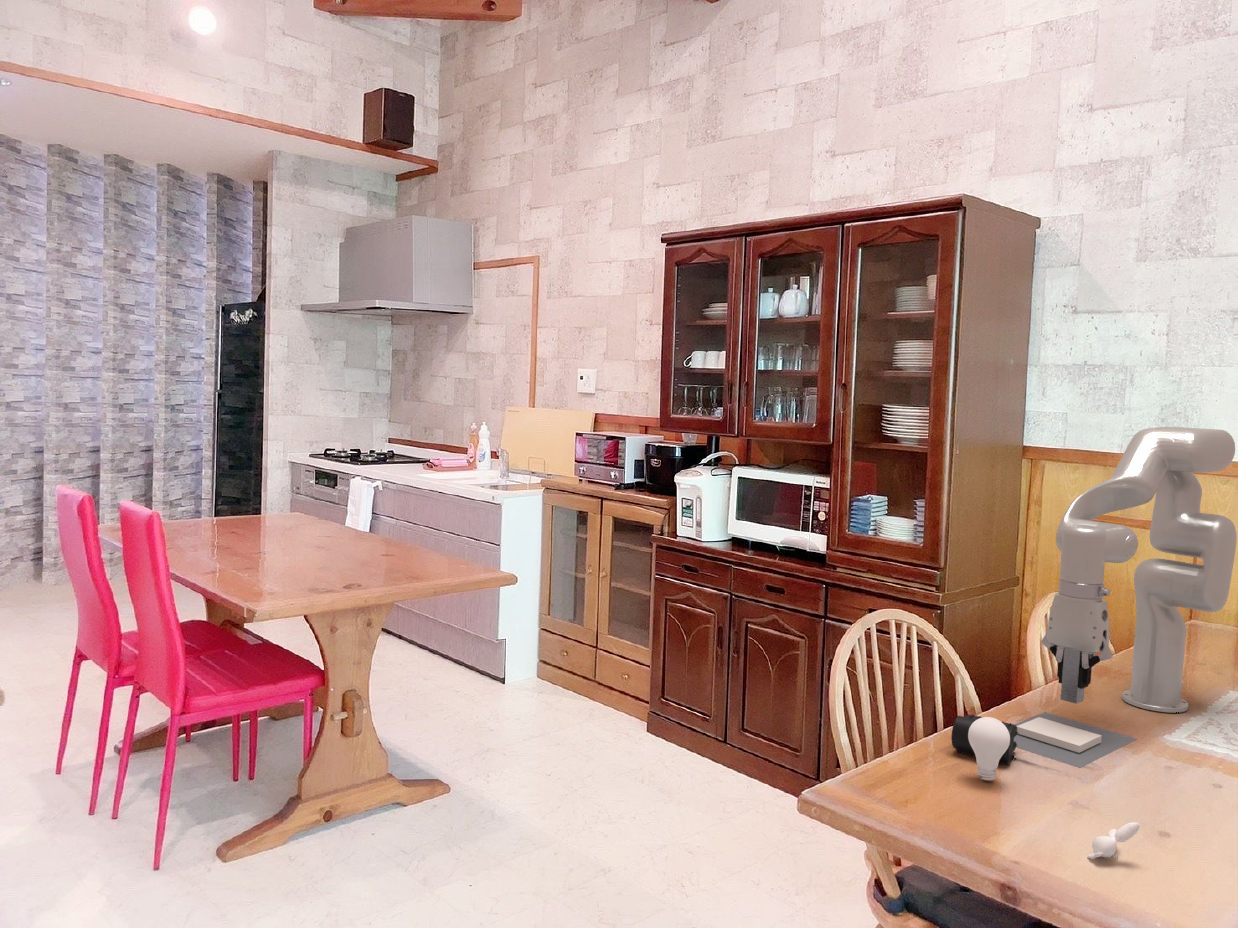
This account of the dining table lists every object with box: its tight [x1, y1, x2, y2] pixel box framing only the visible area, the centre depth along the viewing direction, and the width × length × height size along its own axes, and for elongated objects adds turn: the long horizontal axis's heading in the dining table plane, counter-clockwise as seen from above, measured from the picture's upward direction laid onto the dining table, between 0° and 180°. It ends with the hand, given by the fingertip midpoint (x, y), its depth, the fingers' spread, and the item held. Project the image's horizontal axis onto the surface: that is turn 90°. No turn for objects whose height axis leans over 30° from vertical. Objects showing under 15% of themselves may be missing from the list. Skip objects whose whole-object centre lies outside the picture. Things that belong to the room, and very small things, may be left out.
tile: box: [1017, 717, 1102, 753], centre depth 179 cm, size 2×12×9 cm
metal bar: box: [1060, 647, 1085, 705], centre depth 181 cm, size 3×3×12 cm
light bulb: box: [968, 716, 1010, 783], centre depth 161 cm, size 7×7×11 cm
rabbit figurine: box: [1087, 821, 1140, 860], centre depth 135 cm, size 6×4×8 cm
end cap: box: [951, 714, 1018, 765], centre depth 172 cm, size 10×7×7 cm
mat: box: [1014, 711, 1138, 769], centre depth 180 cm, size 24×18×1 cm
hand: (1073, 683), depth 182 cm, fingers closed on metal bar, 3 cm apart
